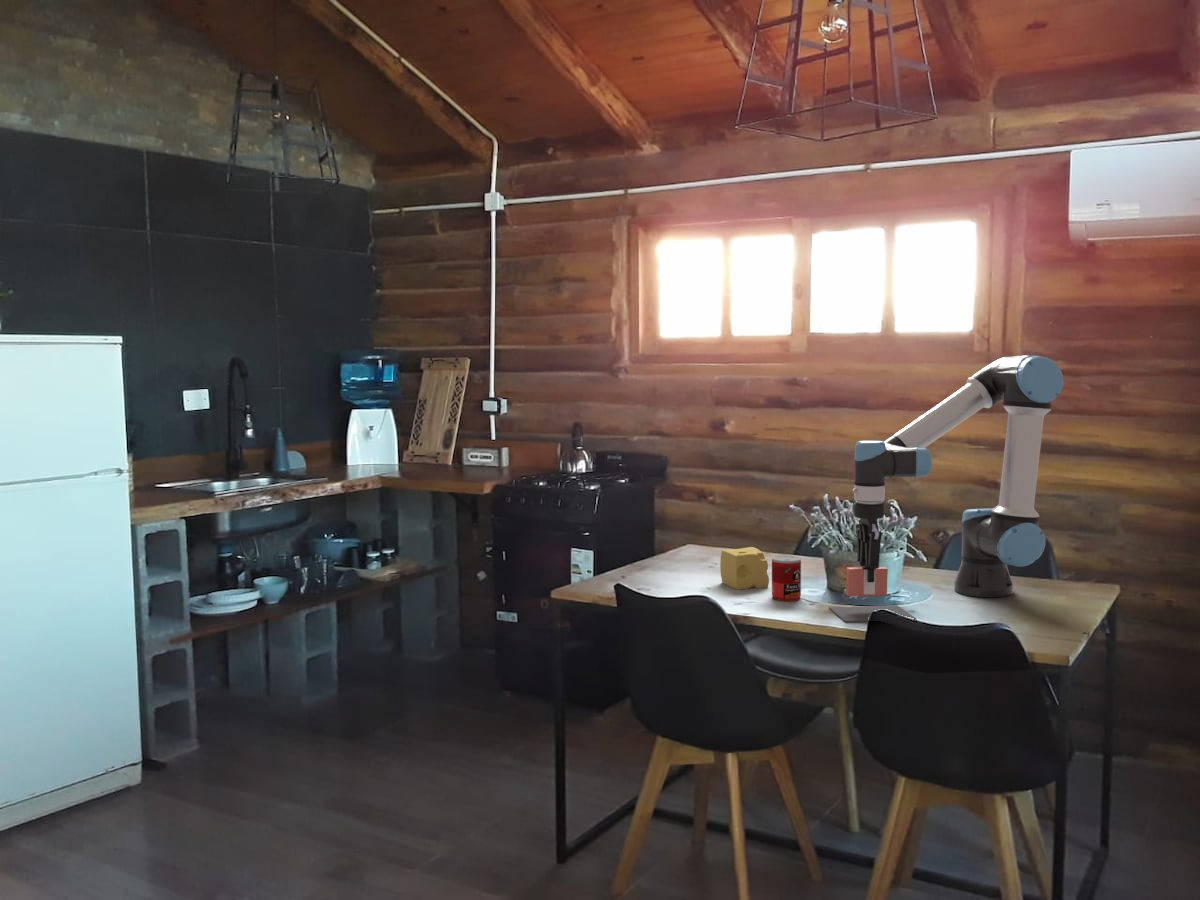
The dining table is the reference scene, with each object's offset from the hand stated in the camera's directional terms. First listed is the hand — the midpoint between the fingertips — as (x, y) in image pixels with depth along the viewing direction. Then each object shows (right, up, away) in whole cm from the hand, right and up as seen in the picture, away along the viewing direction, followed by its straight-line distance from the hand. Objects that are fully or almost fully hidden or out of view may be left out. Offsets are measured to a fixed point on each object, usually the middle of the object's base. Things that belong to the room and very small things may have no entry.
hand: (867, 592), depth 269 cm
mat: (0, -5, -2) cm, 6 cm away
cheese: (-27, -3, +33) cm, 42 cm away
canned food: (-18, -4, +16) cm, 24 cm away
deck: (0, -1, 0) cm, 1 cm away
